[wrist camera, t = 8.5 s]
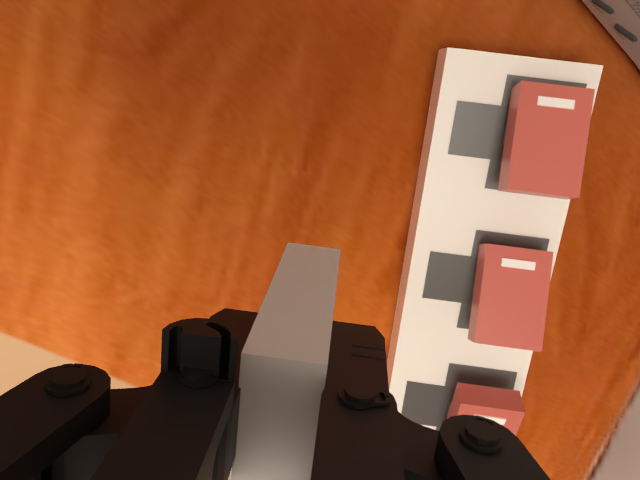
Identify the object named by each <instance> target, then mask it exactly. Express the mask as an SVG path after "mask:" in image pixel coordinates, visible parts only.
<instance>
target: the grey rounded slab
mask: <svg viewBox="0 0 640 480" xmlns="http://www.w3.org/2000/svg"><path fill="white" fill-rule="evenodd" d="M582 1H583V3H584V4H585V5H586V6H587V7H588V8H589V10H590V11H591V12H592V13H593V14H594V16H595V17H596V18H597V19H598V20H599V21H600V23H601V24H602V25H603V26H604V27H605V29H606V30H607V31H608V32H609V33H610V34H611V36H612V37H613V38H614V39H615V40H616V42H617V43H618V44H619V45H620V46H621V47H622V49H623V50H624V51H625V52H626V53H627V55H628V56H629V57H630V58H631V59H632V61H633V62H634V63H635V64H636V66H637V67H638V69H639V71H640V0H582Z"/></svg>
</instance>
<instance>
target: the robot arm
mask: <svg viewBox="0 0 640 480" xmlns="http://www.w3.org/2000/svg"><path fill="white" fill-rule="evenodd" d="M340 252H341V249H335V248H328V247H320V246H312V245H304V244H296V243H289V242H288V244H287V246H286V248H285V251H284V253H283V255H282V258H281V260H280V263H279V265H278V267H277V270H276V272H275V274H274V277H273V279H272V281H271V284H270V286H269V289H268V291H267V293H266V296H265V298H264V300H263V303H262V305H261V307H260V310H259V312H258V313H256V312H249V311H241V310H234V309H226V308H225V309H223V310H221V311H219V312H218V313H216V314H214V315H212V316H211V317H210V318H209V319H205V318H192V319H184V320H180V321H177V322H174V323H171V324H169V325H168V326H166V327H165V328H164V329H163V330H162V352H161V373H160V374H159V376H158V377H157V379H156V380H155V382H154V383H153V385H150V386H147V387H139V388H126V389H110V384H111V383H110V382H111V378H110V377H109V375H108V374H107V373H106V371H104V370H102V369H100V368H98V367H95V366H90V365H84V364H64V365H61V366H57V367H52V368H48V369H46V370H44V371H42V372H40V373H37V374H35V375H34V376H32V377H30V378H29V379H27V380H25V381H24V382H22V383H21V384H19V385H17V386H16V387H14V388H12V389H11V390H9V391H7V392H6V393H4V394H3V395H1V396H0V480H228V477H229V474H230V471H231V468H232V475H231V480H550V479H549V477H548V476H547V475H546V473H545V472H544V471H543V470H542V468H541V467H540V466H539V464H538V463H537V462H536V461H535V459H534V458H533V457H532V455H531V454H530V453H529V452H528V450H527V449H526V448H525V446H524V445H523V444H522V443H521V441H520V440H519V439H518V438H517V437H516V436H515V435H514V434H513V433H512V432H511V431H510V430H509V429H507V428H506V427H504V426H502V425H500V424H499V423H497V422H495V421H493V420H491V419H488V418H487V419H486V418H485V417H481V416H473V415H457V416H451V417H450V418H448V419H446V420H445V421H443V422H442V425H441V427H440V430H439V431H437V430H434V429H431V428H428V427H425V426H423V425H420V424H418V423H415V422H413V421H411V420H410V419H408V418H406V417H405V416H403V415H402V414H401V413H400V412H398V409H397V403H396V400H395V398H394V396H393V395H392V394H391V393H390V392H389V385H388V373H387V362H386V351H385V339H384V337H383V335H382V334H381V333H380V332H379V331H378V330H377V329H376V327H375V326H367V325H360V324H352V323H345V322H337V321H333V314H334V305H335V296H336V287H337V278H338V270H339V261H340Z"/></svg>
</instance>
